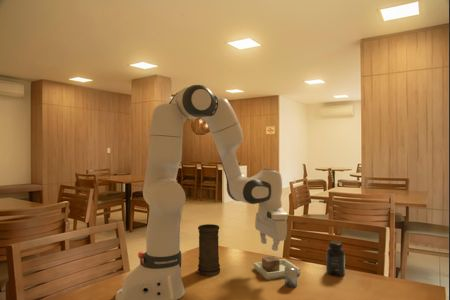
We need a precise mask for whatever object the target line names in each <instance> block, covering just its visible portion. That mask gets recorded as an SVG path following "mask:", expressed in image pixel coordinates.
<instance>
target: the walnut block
mask: <svg viewBox="0 0 450 300" xmlns="http://www.w3.org/2000/svg"><path fill="white" fill-rule="evenodd" d="M279 260H280V259H278V258H277V257H276V256H273V255H271V256H264V257H261V262H262V268H263V269H264V270H266V271H267V272H275V271H280V262H279Z"/></svg>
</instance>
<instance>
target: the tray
mask: <svg viewBox="0 0 450 300" xmlns="http://www.w3.org/2000/svg"><path fill="white" fill-rule="evenodd" d="M279 262H280V271H275V272H267V271H266V270H264V269H263V268H262V261H259V262H258V261H257V262H253V269H254V270H255V271H256V272H257V273H258V274H260V275H261V276H262V277H263V278H265V280H267V281H268V280H270V281H271V280H275V279H281V278H282V279H283V278H285V267H287V266H293V267H296V268H297V276H300V275H301V268H299V266H297V265H295V264H294V263H292V262H290V261H288V259H285V258H282V259H281V258H280V259H279Z"/></svg>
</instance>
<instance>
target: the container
mask: <svg viewBox="0 0 450 300" xmlns="http://www.w3.org/2000/svg"><path fill="white" fill-rule="evenodd" d="M197 229H198V264H197V274H198V275H202V276H204V277H205V276H207V277H211V276H217V275H219V274H220V272H221V267H220V266H221V265H220V257H219V231H220V226H219V225H217V224H211V223H208V224H201V225H199V226H198V227H197Z"/></svg>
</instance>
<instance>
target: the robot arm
mask: <svg viewBox="0 0 450 300" xmlns="http://www.w3.org/2000/svg"><path fill="white" fill-rule="evenodd" d="M199 118H201V119H203V121H204V122H205V123H206V125H207V127H208V130H209V133H210V134H211V137H212V140H213V142H214V144H215V145H214V146H215V147H216V150H217V154H218V158H219V160H220V163H221V166H222V170H223V173H224V175H225V179H226V192H227V194H228V196H229V198H230V199H232V200H234V201H236V202H241V203H246V204H249V205H257V204H258V210H257V212H256V214H255V221H254V227H255V230H257V231H258V232H259V236H260V243H261V244H263V245H266V244H267V242H268V241H267V237H269V238H270V239H272V242H273V244H272V245H271V250H272V251H274V252H277V251H278V250H279V245H280V242H283V241H284V242H285V240H286V239H287V234H288V233H287V232H288V224H287V223H288V222H287V220H288V218H289V217H288V216H289V215H288V213H287V211H285V210H284V208H283V207H282V205H283V203H282V199H281V198H282V194H283V181H282V179H283V178H282V175H281V173H280V172H279V171H278V170H275V169H269V168H262V169H261V170H260V171H259V172H258V173H256V174H254V175H252V176H250V177H247V176H245V174H243V173H242V171H241V168H240V165H239V162H238V159H237V155H236V154H237V153H236V152H237V149H238V148H239V147H240V146H241V145H242V142H243V140H244V133H243V129H242V126H241V124H240V122H239V118H238V116H237V115H236V112H235V110H234V108H233V107H232V105H231V103H230V101H228V99H227V98H225V97H222V96H216V95H215V94H214V93H213V92H212V91H211V89H209V88H208V87H207V86H205V85H203V84H193V85H192V84H191V85H190V86H186V87H184V88H182V89H181V90H179V91H178V92H176V93H175V94H174V95H173V96H172V98H171V100H170V101H169V102H168V103H161V104H159V105H157V106H155V108H154V109H153V112H152V116H151V120H150V127H149V139H148V140H149V141H148V154H147V165H146V169H145V175H144V180H143V189H142V195H143V199H144V201H145V202H146V204H148V211H149V212H148V217H147V218H148V219H147V226H146V230H145V231H146V233H145V235H146V236H145V237H146V238H145V241H146V242H145V244H146V249H145V252H143V251H139V252H138V253H137V256H138V258H139V265H138V266H136V267H135V268H134V269H133V270H131V271H130V272H128V274H126V276H125V277H124V280H123V284H122V288H120V289H118V290H117V292H116V293H115V299H114V300H180V299H181V298H182V297H183V296H184V295H185V293H186V291H185V287H184V283H183V278H182V260H183V259H182V251H181V247H180V244H181V243H180V242H181V241H180V239H181V237H180V236H181V235H180V233H181V222H182V216H183V210H184V206H185V204H186V201H187V200H186V198H187V197H186V192H185V190H184V188H183V187H182V185H181V184H180V183H178V182H177V176H178V171H179V168H180V164H181V163H182V155H183V133H184V131H183V130H184V125H185V123H186V121H187V120H188V121H189V120H196V119H199Z"/></svg>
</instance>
